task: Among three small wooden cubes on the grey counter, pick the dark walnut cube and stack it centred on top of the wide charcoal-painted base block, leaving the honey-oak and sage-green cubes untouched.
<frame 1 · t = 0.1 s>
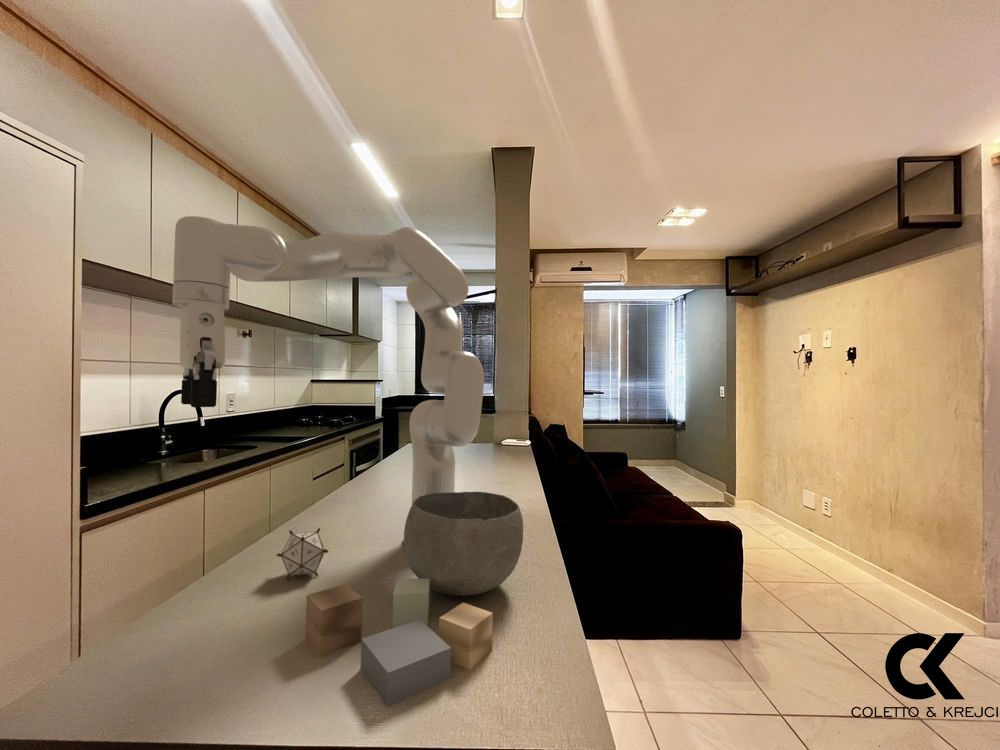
hand: (197, 405, 71), 31 cm above the countertop, fingers open, 9 cm apart
game die: (302, 576, 82), on the countertop
sage cube: (411, 619, 67), on the countertop
bowl: (463, 588, 78), on the countertop
base block: (404, 676, 54), on the countertop
oak cube: (465, 653, 59), on the countertop
walnut cube: (333, 640, 61), on the countertop
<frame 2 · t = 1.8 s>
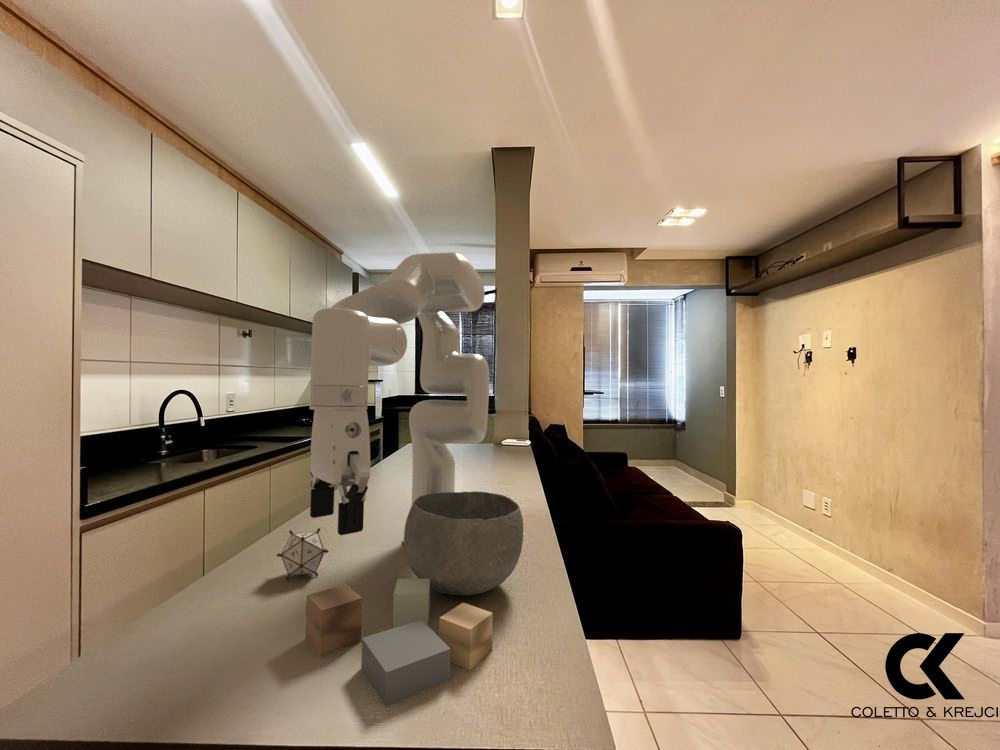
hand: (335, 523, 61), 16 cm above the countertop, fingers open, 9 cm apart
nothing on the countertop moved.
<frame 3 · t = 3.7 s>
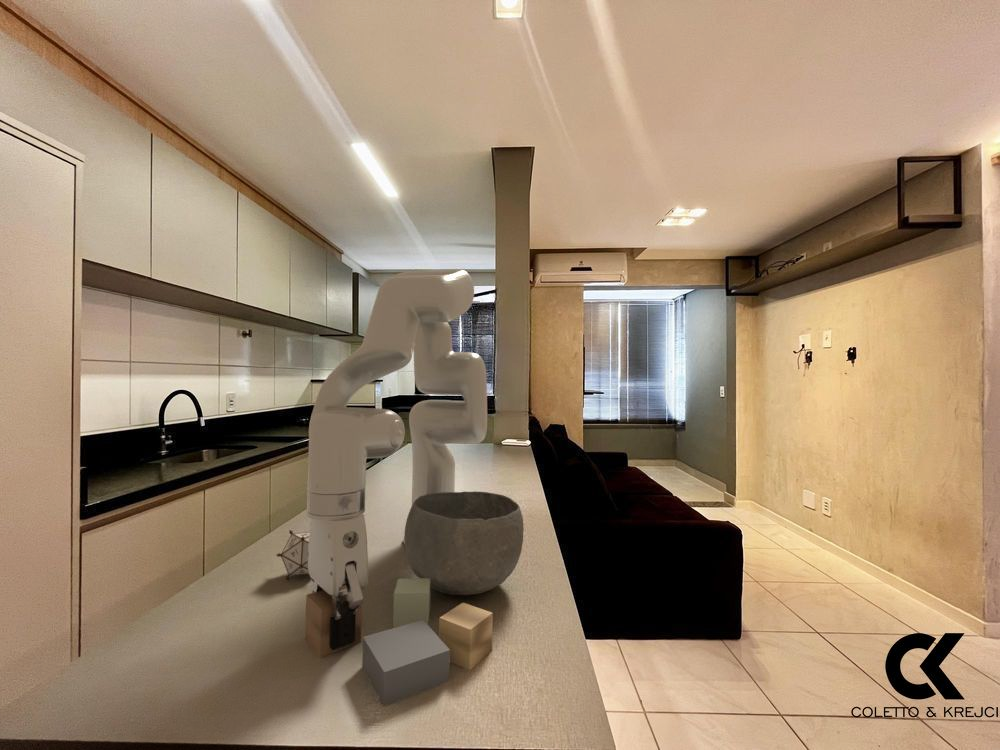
hand: (333, 633, 61), 1 cm above the countertop, fingers closed on walnut cube, 5 cm apart
sage cube: (412, 619, 67), on the countertop, touching bowl
bowl: (463, 588, 78), on the countertop, touching sage cube
walnut cube: (332, 640, 61), on the countertop, touching gripper
everything else where it was.
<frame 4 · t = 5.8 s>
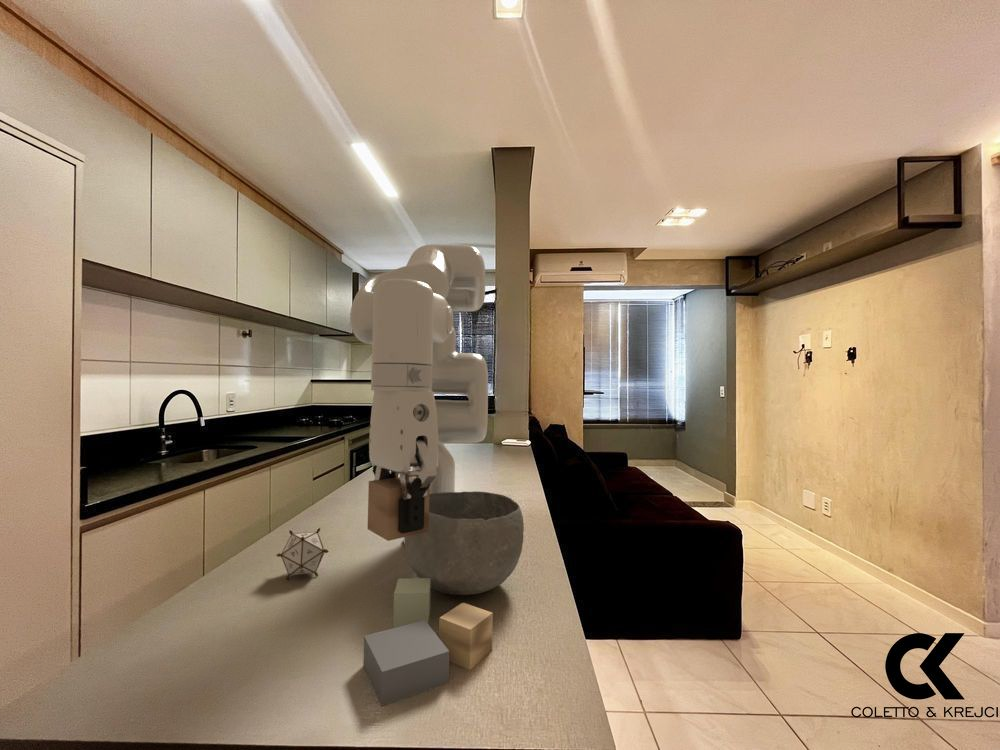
hand: (398, 523, 56), 18 cm above the countertop, fingers closed on walnut cube, 5 cm apart
sage cube: (412, 619, 67), on the countertop
bowl: (463, 588, 78), on the countertop
walnut cube: (397, 530, 56), point 17 cm above the countertop, touching gripper
everything else where it was.
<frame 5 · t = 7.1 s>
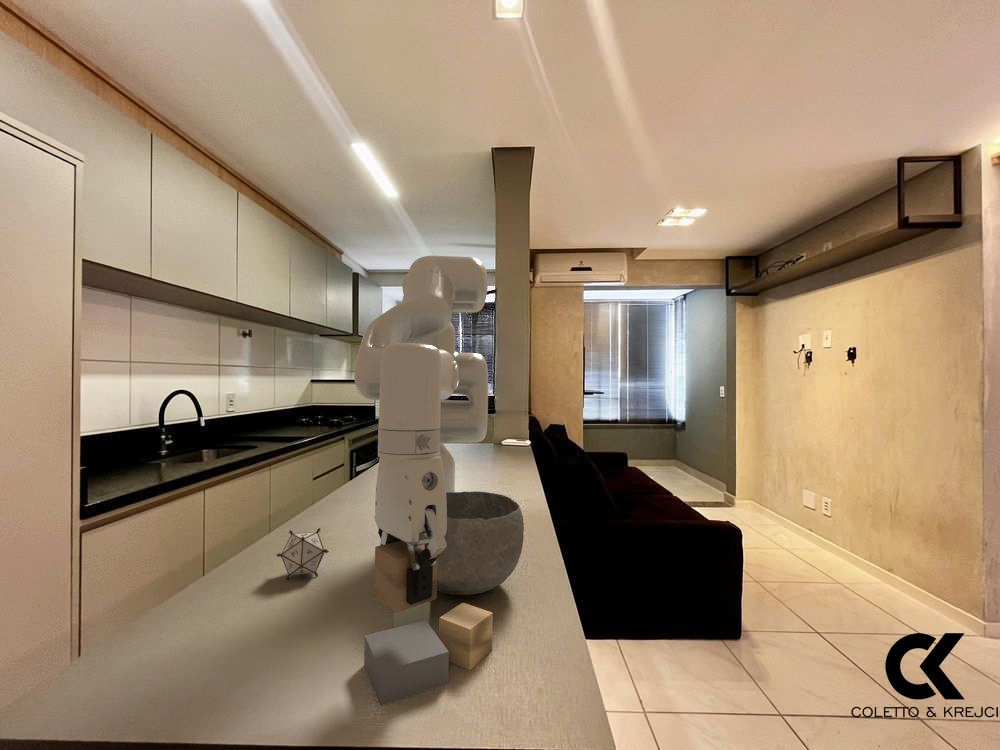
hand: (405, 589, 55), 10 cm above the countertop, fingers closed on walnut cube, 5 cm apart
walnut cube: (405, 597, 55), point 9 cm above the countertop, touching gripper
everything else where it was.
when the fingers open (6 cm above the countertop, at t = 8.1 s): walnut cube drops 1 cm, resting on base block.
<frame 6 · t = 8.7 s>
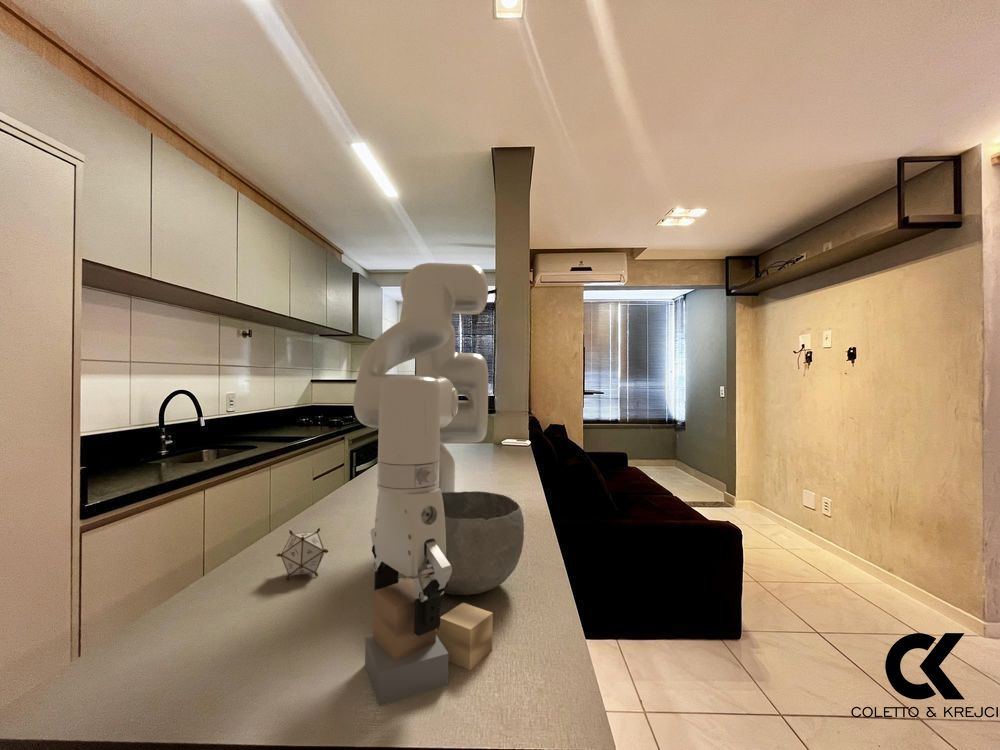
hand: (405, 614, 55), 7 cm above the countertop, fingers open, 9 cm apart
sage cube: (412, 618, 67), on the countertop, touching bowl
bowl: (463, 588, 78), on the countertop, touching sage cube
base block: (404, 677, 54), on the countertop, touching walnut cube
walnut cube: (404, 641, 55), point 4 cm above the countertop, touching base block
everything else where it was.
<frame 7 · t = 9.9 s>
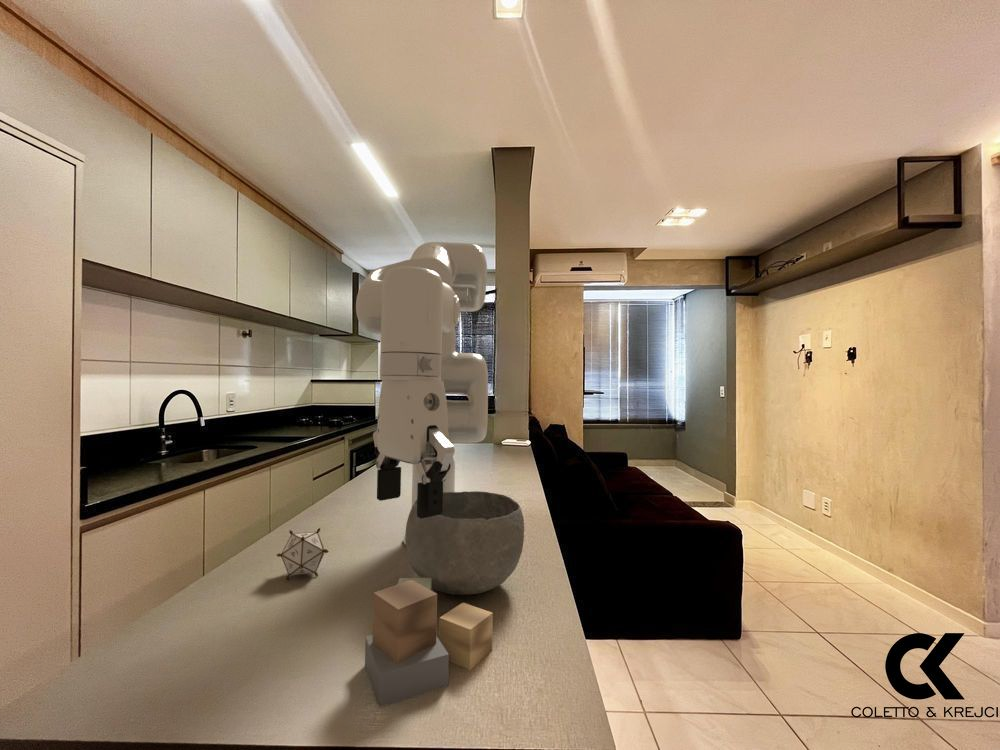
hand: (407, 506, 56), 20 cm above the countertop, fingers open, 9 cm apart
sage cube: (413, 618, 68), on the countertop
bowl: (464, 588, 78), on the countertop
everything else where it was.
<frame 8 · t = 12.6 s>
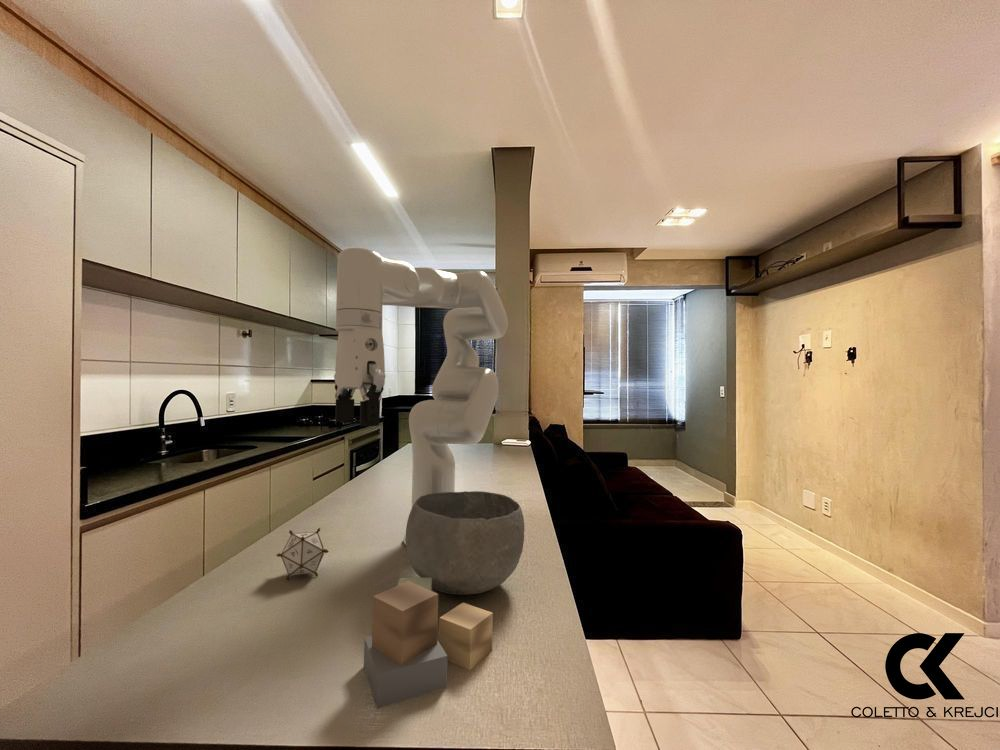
hand: (356, 423, 76), 28 cm above the countertop, fingers open, 9 cm apart
sage cube: (413, 618, 68), on the countertop, touching bowl
bowl: (464, 588, 78), on the countertop, touching sage cube
base block: (403, 679, 54), on the countertop
walnut cube: (404, 645, 54), point 4 cm above the countertop
everything else where it was.
at the end: walnut cube 0.1 cm off-centre on the base block, point 4.0 cm above the base block's base; walnut cube tilted 0°; the gripper is holding nothing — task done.
